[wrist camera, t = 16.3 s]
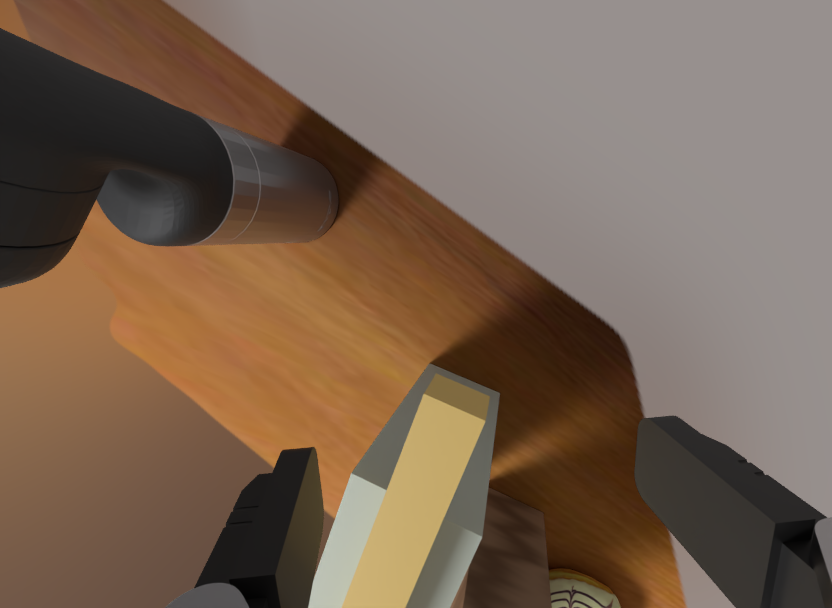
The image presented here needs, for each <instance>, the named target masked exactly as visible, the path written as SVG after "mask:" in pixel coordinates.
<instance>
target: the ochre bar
mask: <svg viewBox="0 0 832 608" xmlns="http://www.w3.org/2000/svg"><path fill="white" fill-rule="evenodd" d="M489 400H490V396H488V395H486V394H483V393H481V392H479V391H476V390H474V389H472V388H469V387H467V386H465V385H462V384H460V383H458V382H455V381H453V380H451V379H448V378H446V377H444V376H441V375H439V374H437V373H436V374H435V376H434V378H433V379H432V381H431V383H430V384H429V386H428V388H427V389H426V391H425V392H424V394H423V397H422V400H421V402H420V405H419V407H418V410H417V413H416V415H415V418H414V420H413V423H412V426H411V428H410V431H409V433H408V436H407V439H406V441H405V444H404V446H403V449H402V452H401V454H400V457H399V459H398V462H397V465H396V467H395V470H394V472H393V475H392V478H391V480H390V483H389V485H388V488H387V491H386V493H385V496H384V498H383V501H382V504H381V506H380V509H379V511H378V514H377V517H376V519H375V522H374V524H373V527H372V530H371V532H370V535H369V537H368V540H367V543H366V545H365V548H364V550H363V553H362V556H361V558H360V561H359V563H358V566H357V569H356V571H355V574H354V576H353V579H352V582H351V584H350V587H349V589H348V592H347V595H346V597H345V600H344V602H343V605H342V608H405V607H406V605H407V603H408V600H409V598H410V596H411V593H412V591H413V589H414V587H415V584H416V582H417V580H418V577H419V575H420V573H421V570H422V568H423V566H424V563H425V561H426V559H427V556H428V554H429V552H430V549H431V547H432V545H433V542H434V540H435V538H436V535H437V533H438V531H439V528H440V526H441V524H442V521H443V519H444V517H445V514H446V512H447V510H448V507H449V505H450V503H451V500H452V498H453V496H454V494H455V491H456V489H457V487H458V484H459V482H460V480H461V477H462V475H463V473H464V470H465V468H466V466H467V463H468V461H469V459H470V456H471V454H472V452H473V449H474V447H475V445H476V442H477V440H478V438H479V435H480V433H481V431H482V428H483V426H484V424H485V421H486V417H487V411H488V406H489Z"/></svg>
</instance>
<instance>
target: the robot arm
mask: <svg viewBox="0 0 832 608" xmlns="http://www.w3.org/2000/svg"><path fill="white" fill-rule="evenodd" d="M96 199H97V201H98V203H99V205H100V207H101V209H102V210H103V212H104V213H105V215H106V216H107V218H108V219H109V220H110V221H111V222H112V224H113V225H115V226H116V227H117V228H118V229H119V230H120V231H121V232H122V233H124V234H125V235H127V236H128V237H130V238H132V239H134V240H136V241H139V242H141V243H144V244H148V245H154V246H195V245H226V244H264V243H301V242H309V241H312V240H315V239H317V238H319V237H320V236H322V235H323V234H324V233H325V232H326V231H327V230H328V229H329V228H330V226H331V225H332V223H333V222H334V219H335V217H336V214H337V210H338V191H337V186H336V184H335V181H334V179H333V177H332V175H331V174H330V172H329V171H328V170H327V169H326V168H325V167H324V166H323V165H322V164H321V163H320V162H318V161H316V160H315V159H312V158H310V157H307V156H305V155H302V154H299V153H297V152H295V151H292V150H290V149H287V148H284V147H282V146H279V145H276V144H274V143H271V142H269V141H266V140H263V139H261V138H258V137H255V136H253V135H250V134H247V133H245V132H242V131H240V130H237V129H234V128H232V127H229V126H226V125H224V124H221V123H218V122H215V121H213V120H210V119H207V118H205V117H202V116H199V115H197V114H194V113H192V112H189V111H186V110H184V109H181V108H178V107H176V106H174V105H171V104H169V103H167V102H165V101H163V100H161V99H158V98H156V97H154V96H152V95H150V94H148V93H146V92H144V91H141V90H139V89H137V88H134V87H132V86H130V85H128V84H125V83H123V82H120V81H118V80H115V79H113V78H110V77H108V76H105V75H103V74H100V73H98V72H96V71H93V70H91V69H89V68H87V67H84V66H82V65H80V64H77V63H75V62H73V61H71V60H68V59H66V58H64V57H62V56H60V55H57V54H55V53H53V52H51V51H49V50H46V49H44V48H42V47H40V46H38V45H36V44H33V43H31V42H29V41H27V40H25V39H23V38H20V37H18V36H16V35H14V34H12V33H9V32H7V31H5V30H3V29H1V28H0V288H2V287H7V286H11V285H15V284H19V283H23V282H26V281H29V280H32V279H34V278H37V277H39V276H41V275H43V274H44V273H46V272H48V271H49V270H51V269H52V268H54V267H55V266H56V265H57V264H58V263H59V262H60V261H61V260H62V259H63V258H64V257H65V255H66V254H67V253H68V252H69V250H70V249H71V247H72V245H73V244H74V242H75V240H76V238H77V236H78V235H79V233H80V230H81V229H82V227H83V225H84V223H85V221H86V219H87V217H88V215H89V213H90V211H91V209H92V207H93V205H94V203H95V201H96ZM634 475H635V482H636V486H637V489H638V491H639V494H640V496H641V497H642V499H643V500H644V501H645V503H646V504H647V505H648V506H649V507H650V509H651V510H652V511H653V512H654V513H655V514H656V515H657V517H658V518H659V519H660V520H661V521H662V522H663V524H664V525H665V526H666V527H667V528H668V529H669V531H670V532H671V533H672V534H673V535H674V536H675V538H676V539H677V540H678V541H679V542H680V543H681V545H682V546H684V548H685V549H686V550H687V552H688V553H689V554H690V555H691V556H692V557H693V558H694V560H695V561H696V562H697V563H698V564H699V565H700V567H701V568H702V569H703V570H704V571H705V572H706V574H707V575H708V576H709V577H710V578H711V579H712V580H713V582H714V583H715V584H716V585H717V586H718V587H719V589H720V590H721V591H722V592H723V593H724V594H725V596H726V597H727V598H728V599H729V600H730V601H731V603H732V604H733V605H734V606H735V607H736V608H832V518H827V517H826V516H824V515H823V514H821V513H820V512H819V511H817V510H816V509H814V508H813V507H811V506H810V505H809V504H807V503H806V502H805V501H803V500H801V498H799V497H798V496H796V495H795V494H794V493H792V492H791V491H789V490H788V489H787V488H785V487H784V486H782V485H781V484H780V483H778V482H777V481H776V480H774V479H773V478H771V477H770V476H768V475H764V473H763V471H762V470H760V469H759V468H757V467H756V466H755V465H753V464H752V463H748V462H747V460H746V459H745V458H744V457H742V456H741V455H739V454H738V453H736V452H735V451H734V450H732V449H731V448H730V447H728V446H727V445H725V444H722V443H720V442H718V441H716V440H714V439H711V438H709V437H707V436H705V435H703V434H700V433H699V432H698V431H696V430H695V429H694V428H692V427H691V426H689V425H688V424H687V423H685V422H684V421H683V420H681V419H680V418H678V417H676V416H665V417H654V418H644V419H642V420H641V421H640V423H639V426H638V435H637V447H636V459H635V473H634ZM323 516H324V509H323V498H322V490H321V482H320V475H319V467H318V459H317V453H316V449H315V448H314V447H310V448H299V449H288V450H282V452H281V453H280V456H279V458H278V461H277V463H276V465H275V468H274V470H273V473H268V474H259V475H258V476H257V477H255V479H254V480H252V481H251V482H250V483H249V484H248V485H247V486H246V487H245V488H244V489H243V490H242V492H241V494H240V496H239V498H238V500H237V502H236V504H235V506H234V508H233V512H231V514H230V516H229V518H228V520H227V522H226V527H225V528H223V530H222V532H221V534H220V536H219V539H218V541H217V543H216V545H215V547H214V549H213V551H212V553H211V555H210V557H209V559H208V561H207V563H206V565H205V567H204V569H203V571H202V573H201V575H200V577H199V579H198V581H197V584H196V585H195V587H194V589H192V590H190V591H188V592H186V593H184V594H182V595H181V596H180V597H178V598H176V599H175V600H174V601H172V602H171V603H170V604H169V605H168V606H167V607H165V608H308V606H309V601H310V596H311V590H312V585H313V580H314V574H315V569H316V564H317V558H318V553H319V548H320V542H321V537H322V531H323V519H324V517H323Z"/></svg>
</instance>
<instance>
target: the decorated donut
mask: <svg viewBox="0 0 832 608" xmlns="http://www.w3.org/2000/svg"><path fill="white" fill-rule="evenodd" d="M549 581H550V592H551V604H552V608H621V606H620V603H619V601H618V599H617V597H616V596H615V595H614V593H613V592H612V591H611V589H610V588H609V587H608V586H606V585H604V584H602V583H601V582H599V581H597V580H595V579H594V578H592V577H590V576H587V575H585V574H583V573H580V572H577V571H574V570H571V569H560V567H559V569H558V568H557V569H550V570H549Z"/></svg>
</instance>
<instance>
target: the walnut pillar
mask: <svg viewBox="0 0 832 608" xmlns="http://www.w3.org/2000/svg"><path fill="white" fill-rule="evenodd" d="M450 608H552V604H551V592H550V581H549V570H548V558H547V547H546V535H545V524H544V513H543V512H541V511H539V510H536V509H534V508H532V507H530V506H528V505H526V504H524V503H521V502H519V501H517V500H515V499H513V498H511V497H509V496H506V495H504V494H502V493H500V492H498V491H496V490H493V489H491V488H489V487H488V495H487V503H486V511H485V519H484V528H483V536H482V539H481V541H480V543H479V545H478V548H477V550H476V552H475V554H474V556H473V558H472V561H471V563H470V565H469V567H468V569H467V572H466V574H465V576H464V578H463V580H462V583H461V585H460V587H459V589H458V591H457V593H456V596H455V598H454V600H453V602H452V604H451V607H450Z"/></svg>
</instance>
